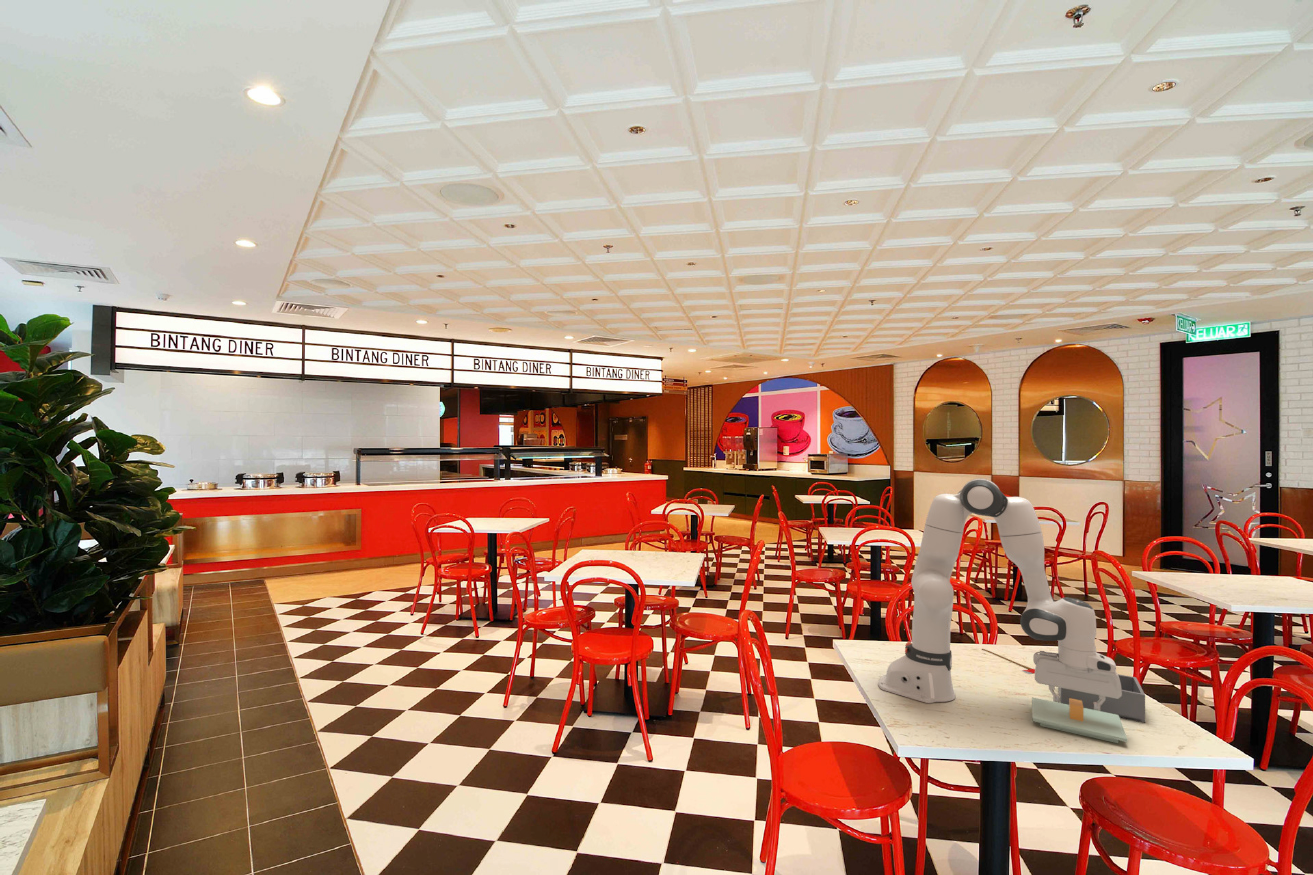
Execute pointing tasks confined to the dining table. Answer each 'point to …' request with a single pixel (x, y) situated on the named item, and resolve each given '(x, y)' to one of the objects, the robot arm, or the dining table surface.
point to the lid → (1078, 719)
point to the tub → (1114, 700)
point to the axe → (1029, 671)
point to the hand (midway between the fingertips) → (1076, 705)
